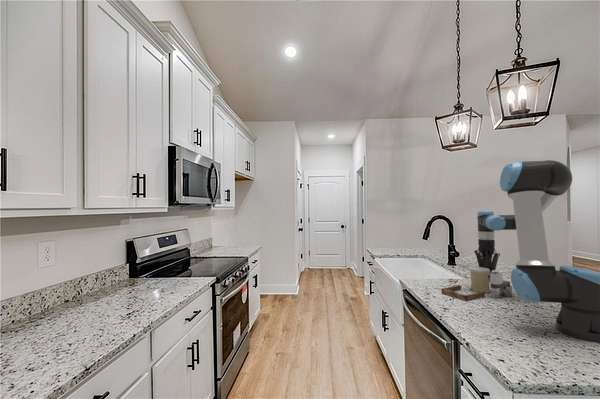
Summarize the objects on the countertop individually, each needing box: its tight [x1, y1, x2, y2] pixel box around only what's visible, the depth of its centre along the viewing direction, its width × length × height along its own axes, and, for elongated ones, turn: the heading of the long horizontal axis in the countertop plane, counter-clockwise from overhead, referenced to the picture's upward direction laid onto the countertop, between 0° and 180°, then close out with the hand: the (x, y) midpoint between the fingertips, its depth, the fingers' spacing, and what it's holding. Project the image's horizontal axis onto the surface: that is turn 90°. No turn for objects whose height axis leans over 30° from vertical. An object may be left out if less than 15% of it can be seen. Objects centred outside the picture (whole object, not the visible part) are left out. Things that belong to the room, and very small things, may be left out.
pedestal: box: [499, 285, 513, 298], centre depth 146 cm, size 5×5×5 cm
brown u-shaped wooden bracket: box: [441, 284, 486, 302], centre depth 149 cm, size 14×14×2 cm
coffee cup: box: [469, 266, 491, 294], centre depth 155 cm, size 9×9×12 cm
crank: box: [490, 271, 511, 290], centre depth 145 cm, size 12×4×7 cm, turn 115°
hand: (487, 282), depth 157 cm, fingers closed
